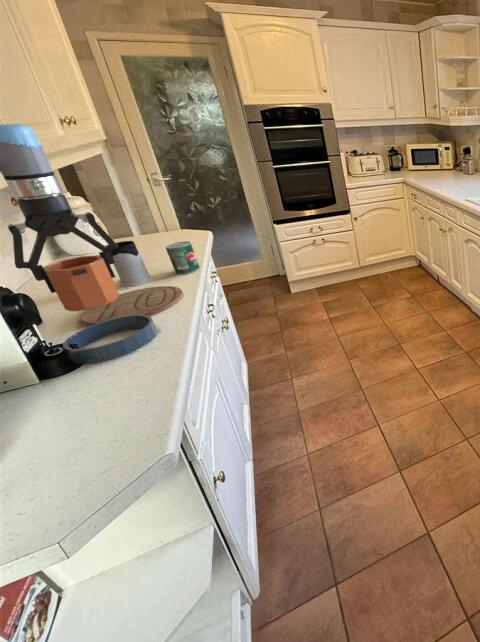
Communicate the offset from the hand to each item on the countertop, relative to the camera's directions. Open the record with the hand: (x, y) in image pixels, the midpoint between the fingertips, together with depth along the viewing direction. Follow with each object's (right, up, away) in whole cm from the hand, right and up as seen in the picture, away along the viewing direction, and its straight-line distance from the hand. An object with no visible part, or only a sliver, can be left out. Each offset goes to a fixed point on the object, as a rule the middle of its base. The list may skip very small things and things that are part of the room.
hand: (83, 283), depth 99 cm
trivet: (-15, -9, +29) cm, 34 cm away
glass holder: (-34, 0, +51) cm, 62 cm away
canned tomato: (-21, +3, +58) cm, 62 cm away
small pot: (0, -5, +2) cm, 5 cm away
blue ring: (+1, -18, +8) cm, 20 cm away
